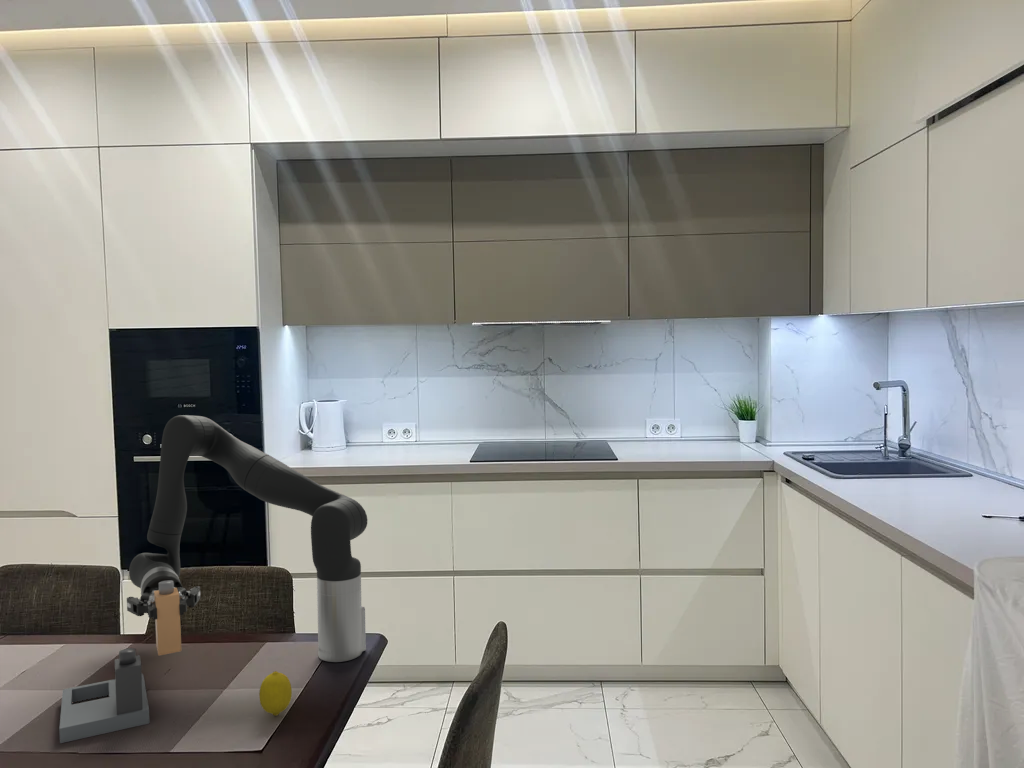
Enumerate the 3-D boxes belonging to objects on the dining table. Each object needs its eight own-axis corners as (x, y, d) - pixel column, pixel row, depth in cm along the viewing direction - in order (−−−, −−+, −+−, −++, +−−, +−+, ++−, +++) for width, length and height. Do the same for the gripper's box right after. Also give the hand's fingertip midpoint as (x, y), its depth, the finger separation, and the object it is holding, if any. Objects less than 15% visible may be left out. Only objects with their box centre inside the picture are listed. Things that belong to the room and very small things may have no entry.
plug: (178, 642, 147) (176, 577, 147) (181, 651, 143) (178, 583, 142) (156, 646, 145) (153, 580, 145) (158, 655, 141) (155, 587, 140)
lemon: (295, 707, 137) (294, 664, 137) (287, 722, 131) (286, 677, 131) (265, 708, 137) (264, 665, 136) (255, 723, 131) (254, 678, 131)
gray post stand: (143, 686, 146) (141, 623, 146) (149, 723, 132) (147, 653, 131) (63, 702, 140) (61, 636, 139) (59, 743, 125) (57, 669, 124)
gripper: (122, 576, 153) (125, 599, 138) (197, 565, 160) (208, 586, 145) (123, 612, 153) (127, 639, 138) (198, 599, 160) (209, 624, 145)
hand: (168, 611), depth 141 cm, fingers closed on plug, 4 cm apart
